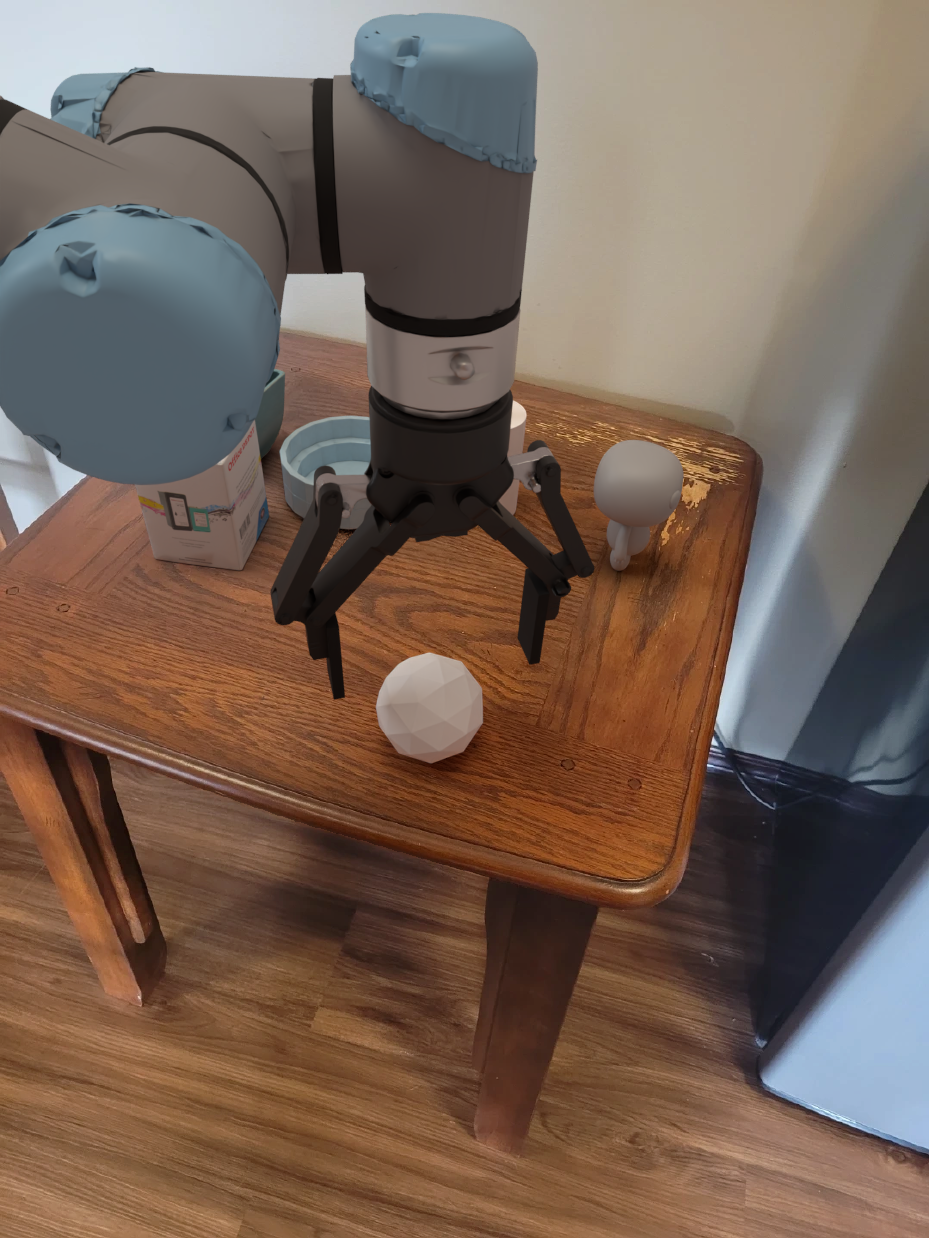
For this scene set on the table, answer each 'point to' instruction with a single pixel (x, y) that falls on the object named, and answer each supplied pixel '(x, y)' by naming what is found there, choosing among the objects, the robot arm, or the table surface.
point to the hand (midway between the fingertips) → (434, 667)
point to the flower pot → (270, 412)
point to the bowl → (325, 460)
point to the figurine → (636, 494)
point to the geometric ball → (430, 707)
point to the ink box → (210, 511)
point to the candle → (515, 453)
